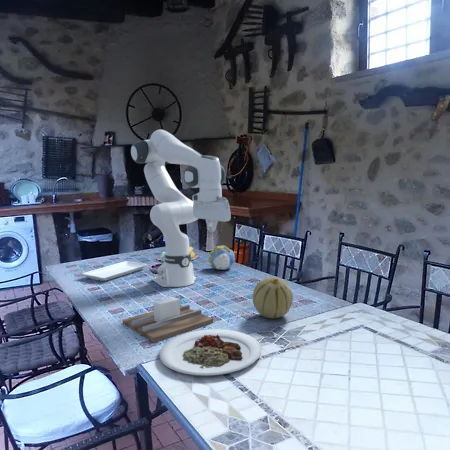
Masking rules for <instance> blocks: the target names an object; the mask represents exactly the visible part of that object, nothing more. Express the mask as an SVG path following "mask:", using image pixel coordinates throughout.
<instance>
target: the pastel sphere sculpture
mask: <svg viewBox="0 0 450 450" xmlns="http://www.w3.org/2000/svg"><path fill="white" fill-rule="evenodd" d="M189 249H190V253H191V261H193V260H197V258H198V257H199V255H198V254H197V253H195V251H193V250H194V247H192V246H190V245H189ZM165 255H166V251H162V252H161V253H160V254H159V255H157V258H156V260H157V261H158V260H162V261H161V262H163V263H164V262H165V261H164V260H165V257H164V256H165Z"/></svg>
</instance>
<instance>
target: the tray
mask: <svg viewBox="0 0 450 450" xmlns="http://www.w3.org/2000/svg"><path fill="white" fill-rule="evenodd" d="M147 266H148V263H144V262H143V263H141V262H135V261H130V260H125V261H120V262H117V263H114V264H109V265H107V266H104V267H100V268H96V269H92V270H89V271H85V272H82V273H81V275H82V276H83V277H86V278H89V279H90V278H91V279H90V280H93V279H96V280H95V281H99V280H100V281H99V282H107V280H108V281H111V280H114V279H116V277H117V278H120V277H123V276H127V275H130V274H133V273H135V271H136V272H139V271H141V270H142V269H144V268H146V267H147ZM138 270H139V271H138ZM132 272H133V273H132ZM129 273H130V274H129ZM126 274H127V275H126ZM113 278H114V279H113ZM110 279H111V280H110Z"/></svg>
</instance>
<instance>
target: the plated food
mask: <svg viewBox="0 0 450 450" xmlns="http://www.w3.org/2000/svg"><path fill="white" fill-rule="evenodd" d="M158 354H159V355H158V356H159V359H160V362H162V363H163V365H164V366H166V367H167V368H168V369H171V370H173V371H174V372H176V373H181V374H185V375H191V376H220V375H226V374H231V373H234V372H239V371H241V370H243V369H246V368H248V367H249V366H251V365H252V364H255V362H256V361H258V359H259V358H260V356H261V354H262V347H261V343H259V341H258V340H257V339H255V338H254V337H252V336H251V335H249V334H246V333H244V332H242V331H237V330H233V329H232V330H230V329H223V328H222V329H220V328H219V329H218V328H217V329H216V328H215V329H213V328H211V329H200V330H195V331H191V332H190V331H188V332H184V333H181V334H178V335H176V336H175V337H172V338H171V339H169V340H168V341H167V342H165V343H164V344H163V345H162V346H161V348H160V349H159V353H158Z"/></svg>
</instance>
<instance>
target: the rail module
mask: <svg viewBox="0 0 450 450" xmlns="http://www.w3.org/2000/svg"><path fill="white" fill-rule="evenodd" d="M180 301H181V300H180V298H177V297H174V296H172V295H171V296H170V297H166V298H162V299H158V300H154V301H152V302H153V311H154V320H155V321H156V322H160V321H163V320H166V319H170V318H173V317H176V316H179V315H181V314H180V305H181V303H180Z"/></svg>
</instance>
